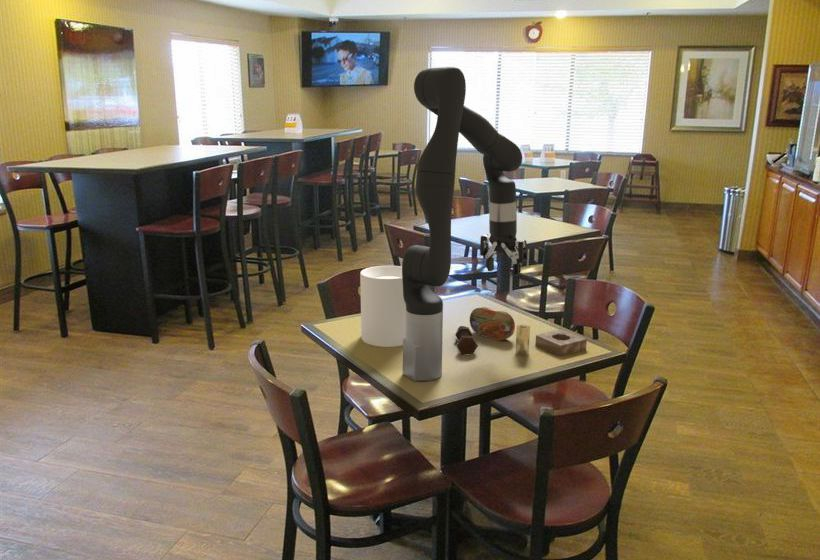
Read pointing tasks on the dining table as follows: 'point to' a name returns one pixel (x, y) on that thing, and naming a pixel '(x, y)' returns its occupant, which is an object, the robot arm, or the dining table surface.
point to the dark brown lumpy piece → (465, 340)
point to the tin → (492, 323)
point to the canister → (382, 306)
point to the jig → (561, 342)
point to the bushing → (522, 340)
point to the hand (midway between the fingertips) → (503, 273)
